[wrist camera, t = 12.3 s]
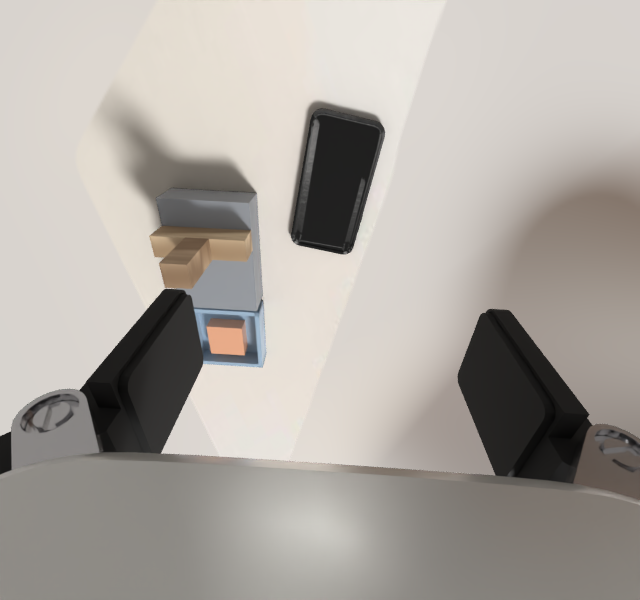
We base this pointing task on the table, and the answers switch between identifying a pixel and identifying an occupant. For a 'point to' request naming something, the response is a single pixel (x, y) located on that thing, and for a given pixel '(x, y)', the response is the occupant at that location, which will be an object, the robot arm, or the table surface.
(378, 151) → the phone
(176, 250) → the scraper
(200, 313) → the tray
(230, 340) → the tile
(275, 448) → the table surface
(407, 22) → the table surface
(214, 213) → the gray rectangular block
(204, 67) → the table surface
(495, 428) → the robot arm
